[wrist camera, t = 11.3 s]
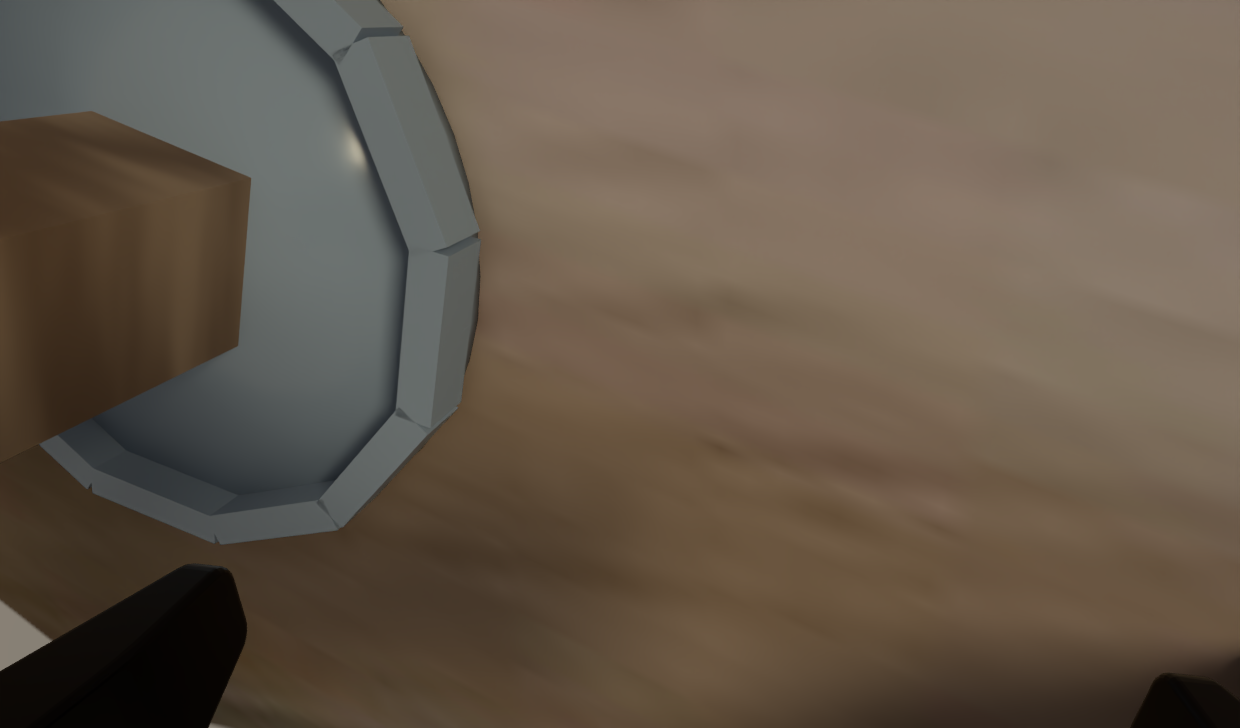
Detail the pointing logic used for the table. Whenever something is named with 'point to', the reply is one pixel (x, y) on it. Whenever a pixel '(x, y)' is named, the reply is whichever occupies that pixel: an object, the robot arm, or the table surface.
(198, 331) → the walnut block
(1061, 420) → the table surface
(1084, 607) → the table surface
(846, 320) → the table surface
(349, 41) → the ceramic dish
